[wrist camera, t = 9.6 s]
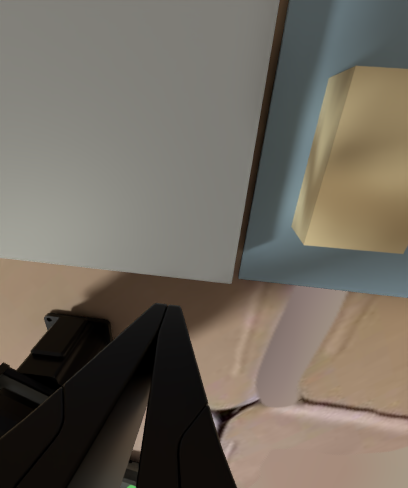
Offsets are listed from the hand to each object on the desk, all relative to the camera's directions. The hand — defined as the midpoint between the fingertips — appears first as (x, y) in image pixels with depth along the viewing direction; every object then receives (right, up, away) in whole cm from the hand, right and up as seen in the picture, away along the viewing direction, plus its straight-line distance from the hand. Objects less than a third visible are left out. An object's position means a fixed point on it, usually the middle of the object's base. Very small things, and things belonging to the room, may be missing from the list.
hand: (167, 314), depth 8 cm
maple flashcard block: (+11, +6, +5) cm, 13 cm away
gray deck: (-4, +9, +8) cm, 13 cm away
